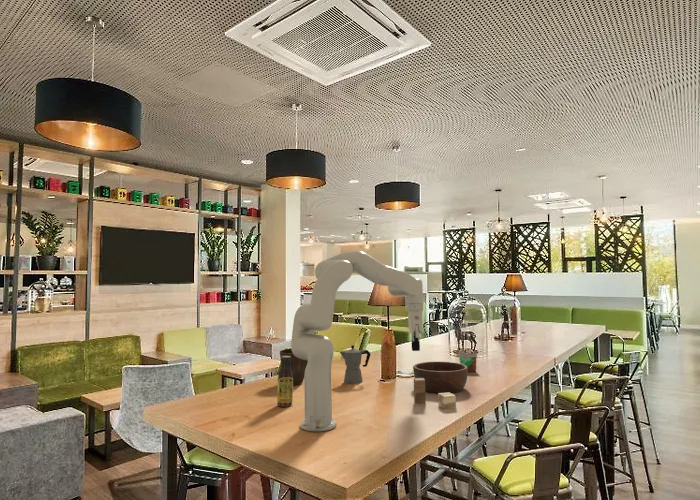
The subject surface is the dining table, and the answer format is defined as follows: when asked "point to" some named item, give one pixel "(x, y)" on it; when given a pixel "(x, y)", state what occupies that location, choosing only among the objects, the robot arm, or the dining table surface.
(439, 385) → the wooden bowl
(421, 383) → the walnut block
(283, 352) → the brown wooden cup
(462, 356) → the food container
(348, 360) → the coffeepot
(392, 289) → the robot arm
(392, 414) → the dining table surface
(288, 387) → the sauce bottle
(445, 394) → the maple cube
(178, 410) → the dining table surface
